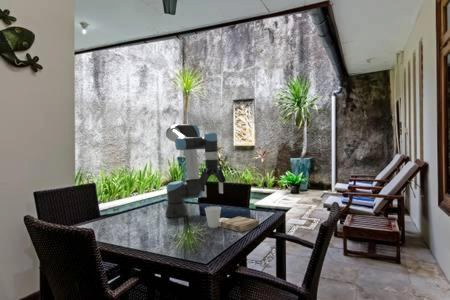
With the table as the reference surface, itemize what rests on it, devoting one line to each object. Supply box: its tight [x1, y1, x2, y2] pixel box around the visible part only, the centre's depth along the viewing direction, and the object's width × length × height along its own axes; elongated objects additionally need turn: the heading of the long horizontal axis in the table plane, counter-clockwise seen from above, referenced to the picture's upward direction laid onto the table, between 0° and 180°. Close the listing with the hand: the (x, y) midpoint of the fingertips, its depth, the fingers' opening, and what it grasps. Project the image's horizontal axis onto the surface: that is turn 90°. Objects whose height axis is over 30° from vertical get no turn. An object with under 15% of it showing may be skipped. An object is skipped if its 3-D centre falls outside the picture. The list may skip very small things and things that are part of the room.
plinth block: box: [220, 216, 260, 233], centre depth 176 cm, size 16×16×3 cm
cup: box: [204, 206, 222, 229], centre depth 177 cm, size 10×10×11 cm
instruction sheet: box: [219, 217, 230, 223], centre depth 189 cm, size 12×9×1 cm
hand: (213, 195), depth 177 cm, fingers open, 13 cm apart
